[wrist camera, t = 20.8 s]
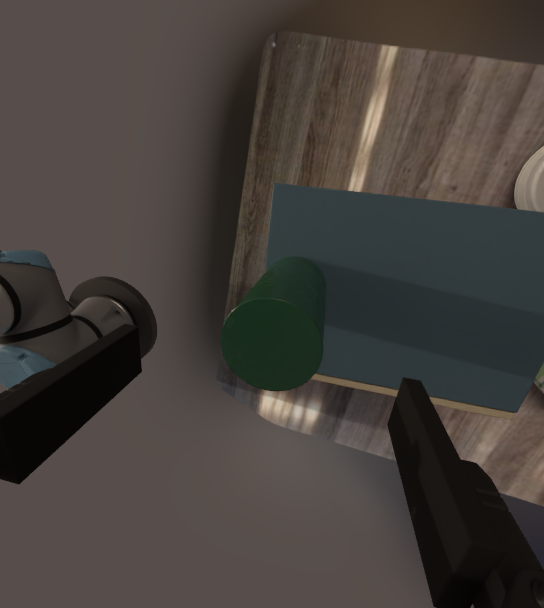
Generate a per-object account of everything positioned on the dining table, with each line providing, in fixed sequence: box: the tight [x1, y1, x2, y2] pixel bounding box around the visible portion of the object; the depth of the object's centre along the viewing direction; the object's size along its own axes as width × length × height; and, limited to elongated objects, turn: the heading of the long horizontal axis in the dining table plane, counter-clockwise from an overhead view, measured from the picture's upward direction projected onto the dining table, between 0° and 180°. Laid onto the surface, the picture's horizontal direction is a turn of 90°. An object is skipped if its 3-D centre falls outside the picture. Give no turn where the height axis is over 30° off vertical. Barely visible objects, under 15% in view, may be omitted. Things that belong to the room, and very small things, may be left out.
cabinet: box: [265, 183, 544, 413], centre depth 38 cm, size 18×26×27 cm
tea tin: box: [220, 256, 326, 391], centre depth 22 cm, size 6×6×12 cm
